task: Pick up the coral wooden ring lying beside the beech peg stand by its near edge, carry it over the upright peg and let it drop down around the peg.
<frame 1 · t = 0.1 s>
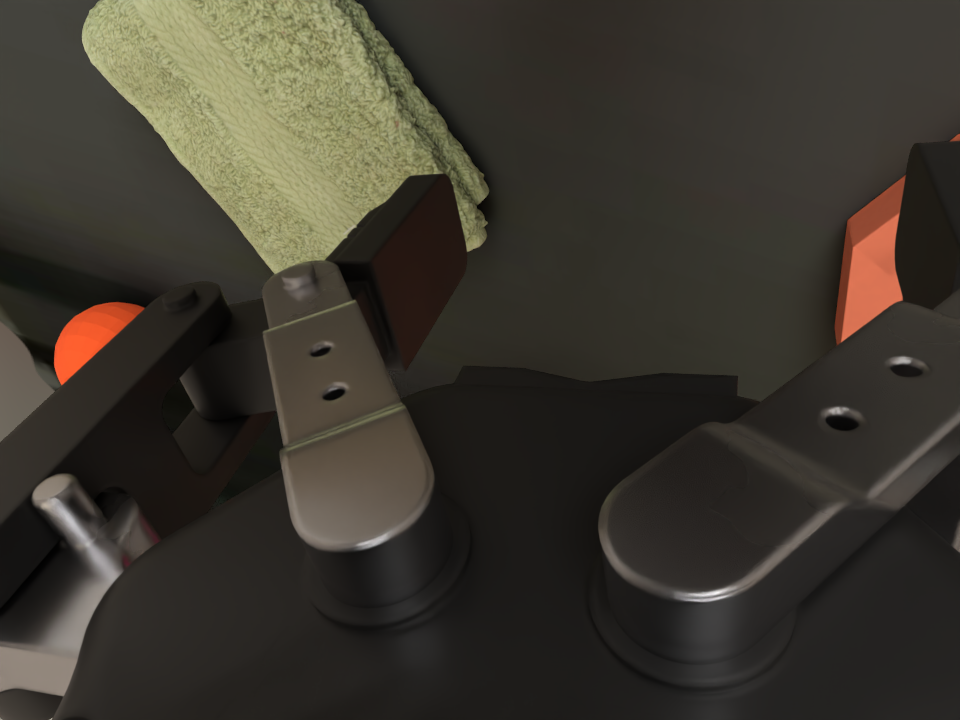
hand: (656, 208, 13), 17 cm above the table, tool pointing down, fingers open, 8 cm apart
clementine: (159, 320, 46), on the table
washcloth: (309, 114, 34), on the table
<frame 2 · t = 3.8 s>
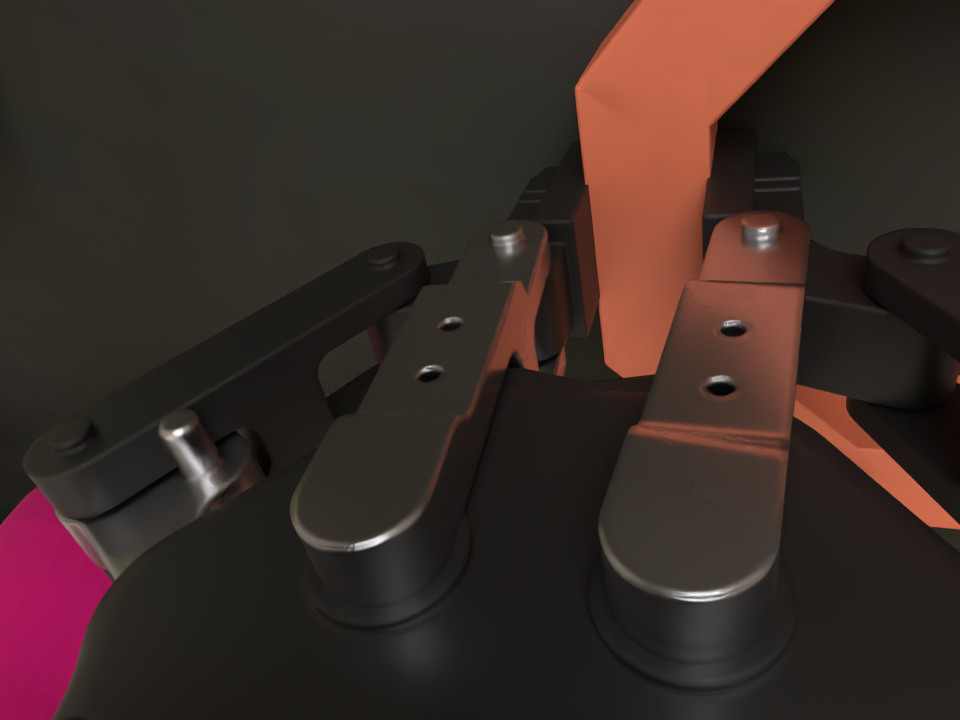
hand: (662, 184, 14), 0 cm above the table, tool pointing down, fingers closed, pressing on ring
pepper mill: (205, 468, 26), on the table
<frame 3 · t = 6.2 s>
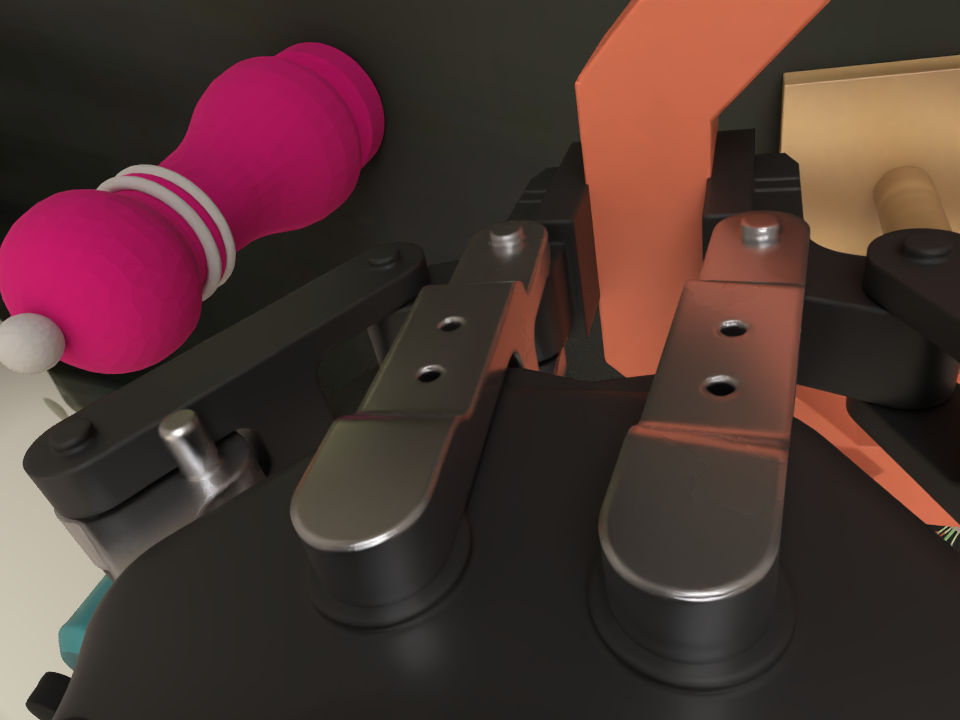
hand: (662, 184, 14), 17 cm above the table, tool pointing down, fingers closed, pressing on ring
beverage bottle: (230, 480, 59), on the table
pepper mill: (328, 107, 35), on the table
peg stand: (897, 173, 29), on the table
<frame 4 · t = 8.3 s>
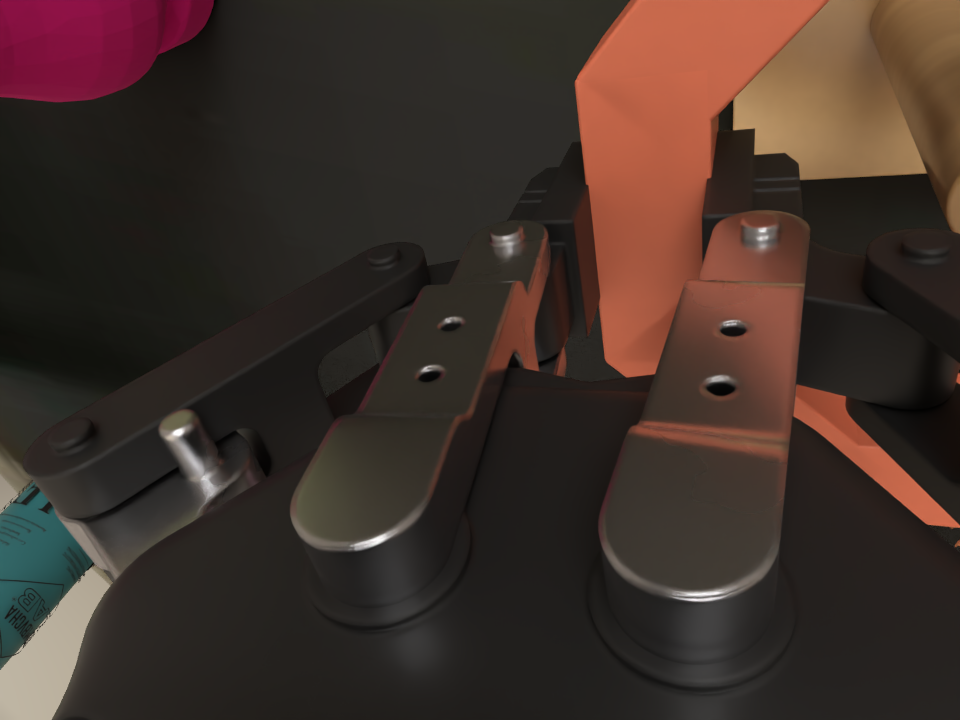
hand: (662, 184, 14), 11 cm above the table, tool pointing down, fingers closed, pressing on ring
beverage bottle: (114, 467, 50), on the table
peg stand: (904, 4, 20), on the table
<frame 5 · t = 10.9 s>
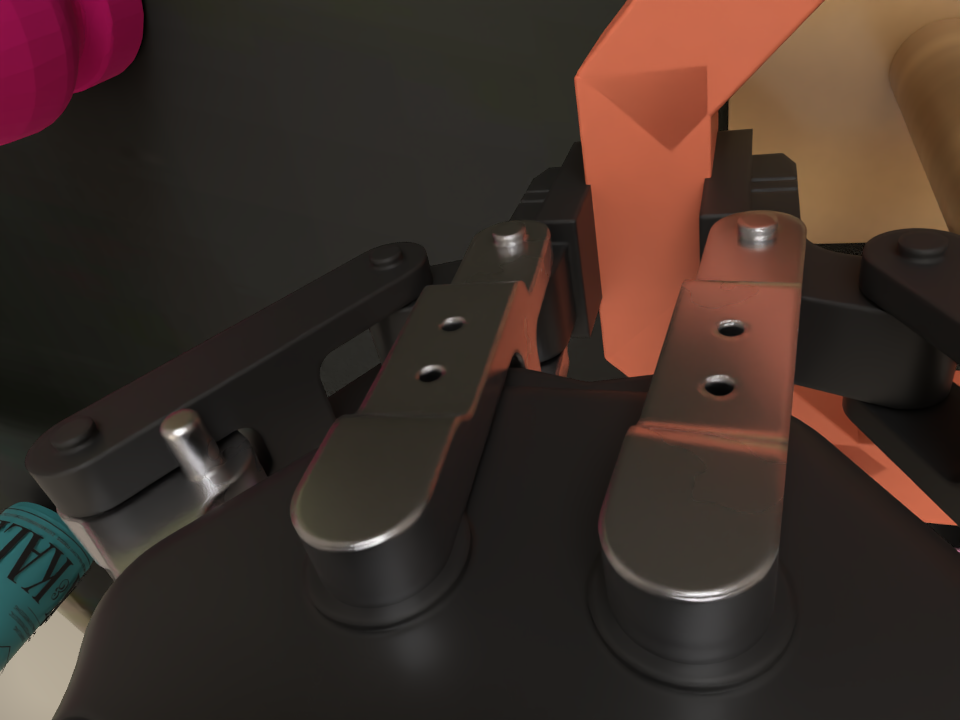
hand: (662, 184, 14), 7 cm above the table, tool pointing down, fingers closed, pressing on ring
beverage bottle: (72, 512, 47), on the table
peg stand: (928, 46, 17), on the table
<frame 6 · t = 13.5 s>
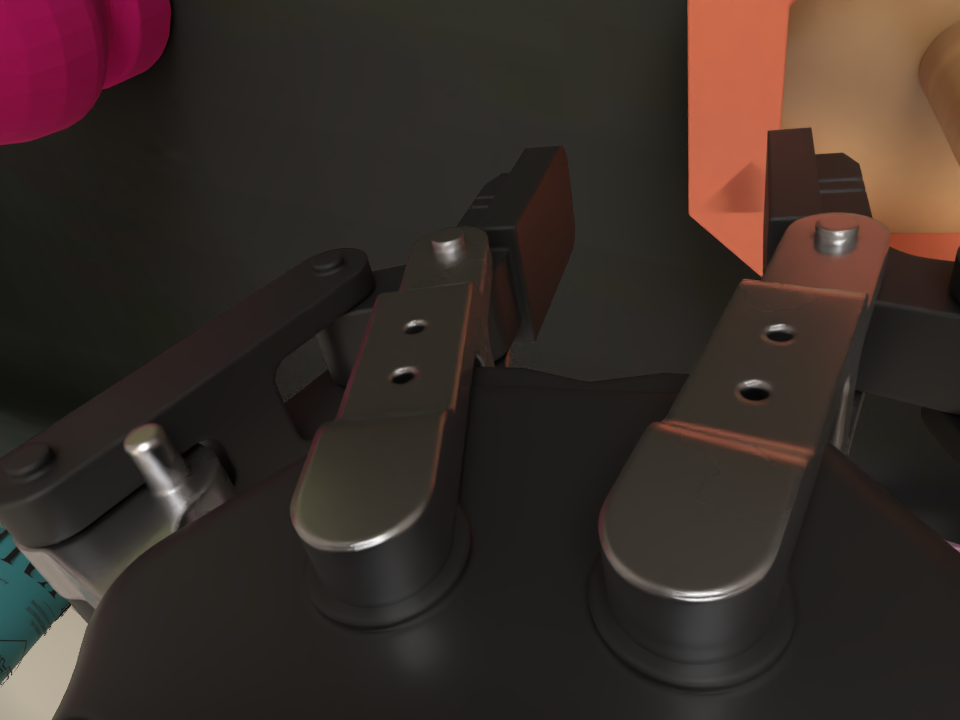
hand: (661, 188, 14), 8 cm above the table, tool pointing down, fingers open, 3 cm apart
beverage bottle: (87, 508, 47), on the table
peg stand: (957, 44, 17), on the table
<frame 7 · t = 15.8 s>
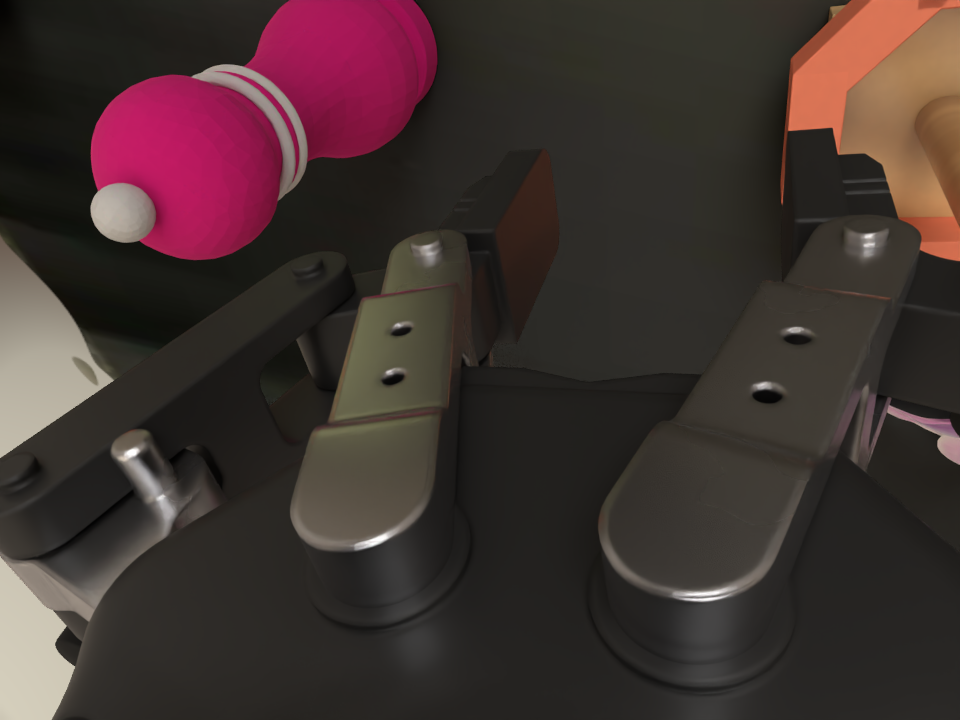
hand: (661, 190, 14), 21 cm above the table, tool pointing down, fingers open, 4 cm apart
beverage bottle: (254, 442, 59), on the table
pepper mill: (382, 48, 36), on the table
peg stand: (936, 108, 30), on the table
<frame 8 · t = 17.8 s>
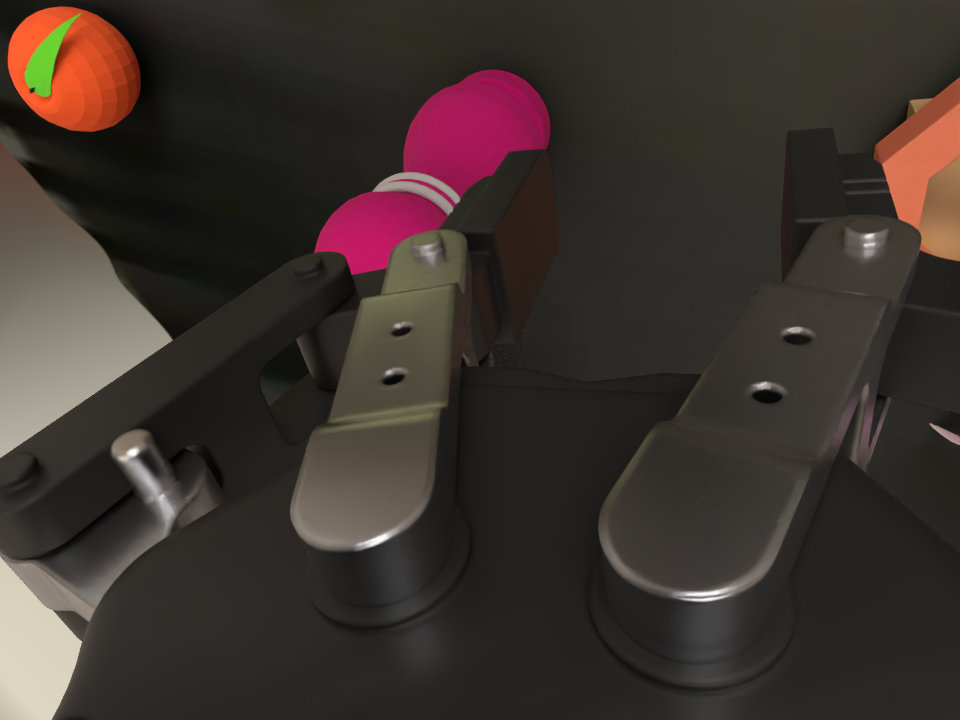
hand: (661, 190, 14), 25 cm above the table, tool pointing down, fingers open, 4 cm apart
clementine: (120, 46, 45), on the table
pepper mill: (498, 124, 41), on the table
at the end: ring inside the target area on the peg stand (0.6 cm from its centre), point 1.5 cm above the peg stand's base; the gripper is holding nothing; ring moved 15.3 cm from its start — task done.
